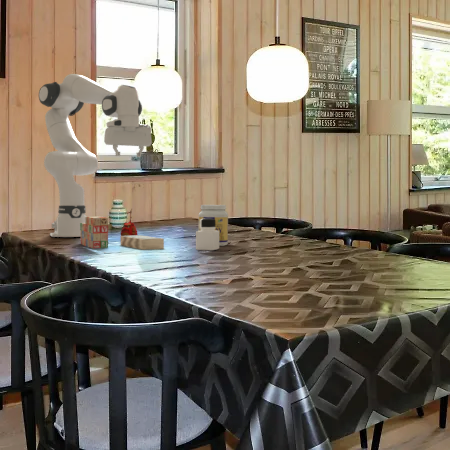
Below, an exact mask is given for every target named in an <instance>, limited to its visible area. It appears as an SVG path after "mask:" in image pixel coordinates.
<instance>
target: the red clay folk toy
mask: <svg viewBox="0 0 450 450" xmlns="http://www.w3.org/2000/svg"><path fill="white" fill-rule="evenodd" d="M132 210H133V208H131V209H130V211H126V214H129V222H124V223H123V227H122V229H121V230H120V237H121V236H132V235H138V230H137V226H135V223H134V222H132Z"/></svg>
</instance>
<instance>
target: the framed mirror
mask: <svg viewBox="0 0 450 450" xmlns="http://www.w3.org/2000/svg"><path fill="white" fill-rule="evenodd" d="M164 244H165V238H161V237H153V236H148V235H140V234H139V235H132V236H121V235H120V246H123V247H126V248H132V249H138V250H144V251H145V250H161V249H163V250H164V249H165V248H164V247H165V245H164Z"/></svg>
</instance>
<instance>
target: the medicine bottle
mask: <svg viewBox="0 0 450 450" xmlns="http://www.w3.org/2000/svg"><path fill="white" fill-rule="evenodd" d="M200 229H201V231H199V230H196V231H195V250H196V251H215V250H219V249H220V246H219V231H217V230H215V219H212V218H204V219H201V220H200Z"/></svg>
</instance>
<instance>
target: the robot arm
mask: <svg viewBox="0 0 450 450" xmlns="http://www.w3.org/2000/svg"><path fill="white" fill-rule="evenodd" d="M118 85H119V84H118ZM38 99H39V103H40V104H42V105H43V106H45V107H47V108H49V107H50V108H49V110H47V112H45V115H44V118H45V119H44V120H45V127H46V131H47V133H48V136H49V140H50V142H51V145H52V147H53V148H54V149H55V150H53V151H50V152H48V153H47V154H46V155H45V157H44V161H43V164H44V165H43V166H44V168H45V170H46V172H47V173H49V174H50V175H51V176H52V177H53V178H54V180H55V182H56V184H57V187H58V194H59V205H58V208H57V209H58V216H57V217H56V219H55V220H54V222H51V228H52V229H53V230H54V232H50V233H49V236H51V237H52V238H55V237H57V238H59V237H60V238H74V237H76V238H77V237H80V238H81V230H80V223H85V217H88V216H87V215H86V210H87V208H86V204H85V189H84V187H83V186H82V185H81V184H80V183H78V182H77V181H76V180H75V177H74V176H89V175H93V174H95V173H96V172H97V171H98V168H99V161H98V158H97V156H96V154H94V153H92V152H91V151H89V150H88V149H86V148H85V147H84V146H83V145H82V143H80V141H79V140H78V139H77V136H76V135H75V132H74V130H73V127H72V124H71V122H70V119H69V116H70V117H72V116H73V117H74V116H75V115H76V114H77V113H78V112H79V111H81V110H82V109H83V107H84V105H85V104H90V105H101V109H102V112H103V114H104V115H105V116H106V117H107V116H108V117H110V118H115V119H113V120H110V121H107V122H106V127H107V128H105V131H104V136H103V137H104V144H105V145H106V146H107V145H108V146H112V149H113V151H114V152H115V153H114V155H115V157H120V156H121V151H119V150H118V147H119V146H127V147H128V146H130V147H138V149H139V150H138V152H136V157H137V158H141V157H142V152H143V151H144V149H145V147H151V145H152V143H153V142H152V141H153V140H152V127H151V126H150V125H149V124H142V123H140V118H139V117H140V116H141V114H142V111H143V105H142V102H141V101H140V99H139V92H138V89H137V87H136V86H134V85H129V84H120V85H119V86H118V87H117V89H116V90H115V91H112V90H110V89H109V88H106V87H105V86H103V85H100V84H99V83H97V82H96V81H94V80H92V79H90V78H88V77H86V76H84V75H81V74H78V73H77V74H76V73H70V74H67V75H66V76H65V77H64V78H63V79H62V82H61V83H58V81H54V82H50V83H45V84H43V85H42V86H40V88H39V91H38Z"/></svg>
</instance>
